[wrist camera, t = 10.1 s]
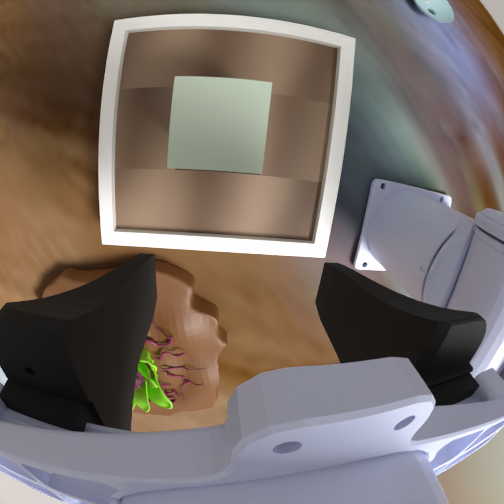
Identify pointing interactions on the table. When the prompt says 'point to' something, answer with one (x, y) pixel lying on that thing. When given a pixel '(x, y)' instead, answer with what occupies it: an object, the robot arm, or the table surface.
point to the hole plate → (223, 182)
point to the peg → (218, 124)
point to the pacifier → (436, 9)
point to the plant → (170, 343)
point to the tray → (218, 240)
